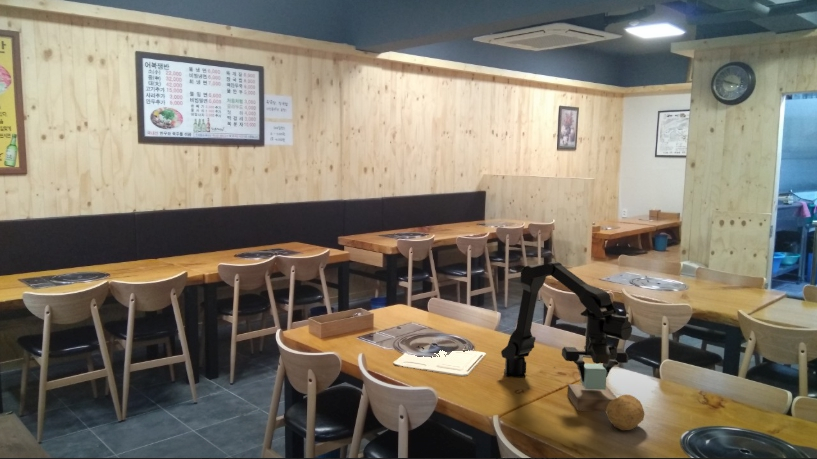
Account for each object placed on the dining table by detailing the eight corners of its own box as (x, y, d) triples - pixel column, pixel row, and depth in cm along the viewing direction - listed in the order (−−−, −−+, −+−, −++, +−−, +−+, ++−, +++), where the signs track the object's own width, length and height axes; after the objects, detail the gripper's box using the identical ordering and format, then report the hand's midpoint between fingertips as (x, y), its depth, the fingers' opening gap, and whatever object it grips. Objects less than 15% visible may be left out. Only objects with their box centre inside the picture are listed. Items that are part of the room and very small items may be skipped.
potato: (598, 431, 163) (599, 403, 162) (613, 414, 175) (614, 388, 174) (634, 441, 158) (636, 412, 157) (648, 423, 169) (649, 396, 168)
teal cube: (585, 389, 180) (586, 369, 179) (580, 381, 186) (581, 363, 185) (605, 389, 180) (606, 370, 179) (599, 382, 186) (600, 363, 185)
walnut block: (577, 411, 177) (578, 398, 177) (567, 396, 189) (568, 384, 189) (617, 412, 177) (618, 399, 177) (605, 397, 189) (605, 385, 189)
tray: (391, 366, 214) (391, 362, 214) (419, 345, 240) (419, 341, 240) (466, 378, 204) (466, 374, 204) (487, 355, 230) (487, 351, 229)
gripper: (571, 339, 173) (568, 390, 175) (636, 341, 173) (632, 392, 174) (562, 328, 184) (560, 377, 186) (623, 330, 184) (620, 379, 185)
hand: (592, 381), depth 183 cm, fingers closed on teal cube, 6 cm apart
